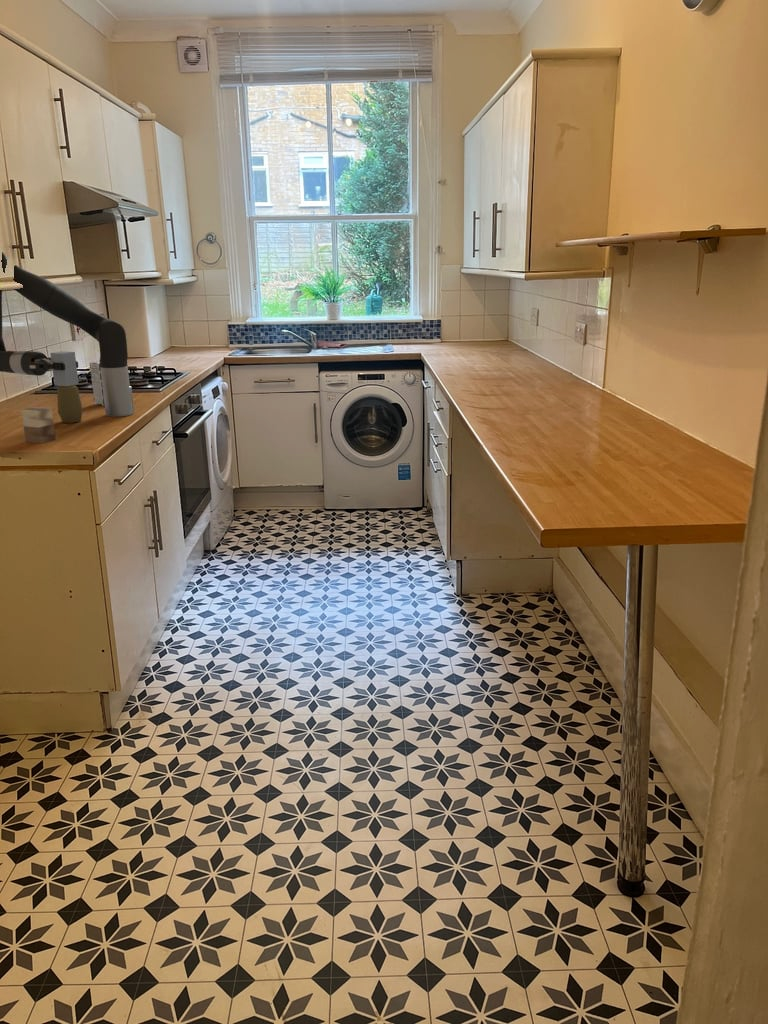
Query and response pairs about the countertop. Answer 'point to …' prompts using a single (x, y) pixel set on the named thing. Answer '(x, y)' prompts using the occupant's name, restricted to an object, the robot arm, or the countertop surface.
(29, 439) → the tower base
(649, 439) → the countertop surface
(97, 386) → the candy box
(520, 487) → the countertop surface
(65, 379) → the pillar
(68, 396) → the squeeze bottle
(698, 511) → the countertop surface
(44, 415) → the tower top
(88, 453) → the countertop surface
